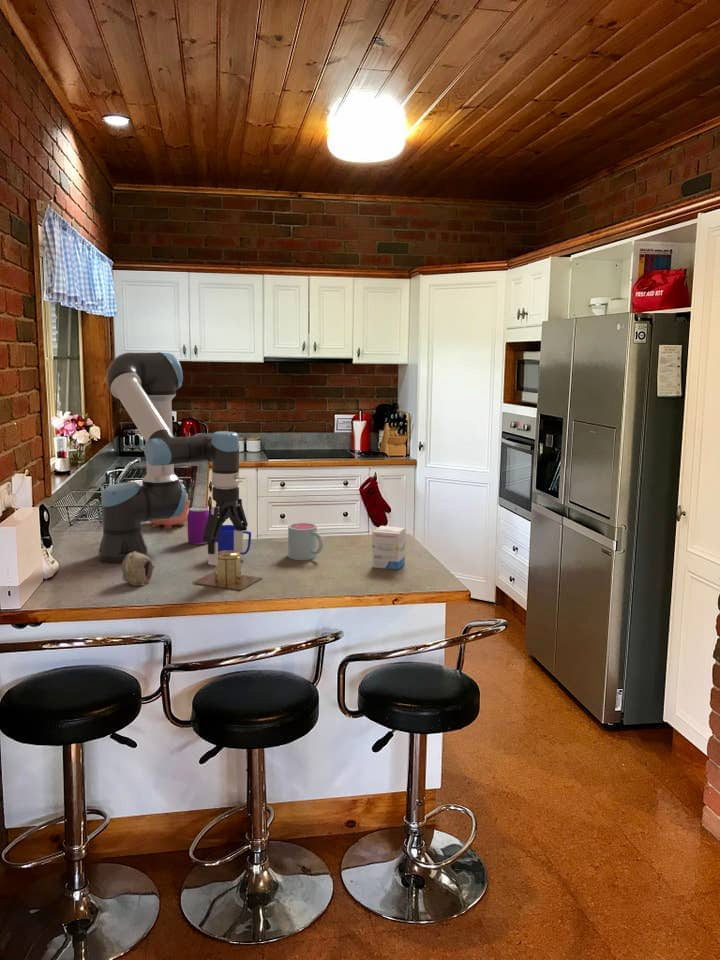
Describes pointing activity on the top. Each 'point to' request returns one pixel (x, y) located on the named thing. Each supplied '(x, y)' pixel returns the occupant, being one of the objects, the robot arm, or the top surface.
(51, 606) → the top surface
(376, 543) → the ink box
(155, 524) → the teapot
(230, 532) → the mug
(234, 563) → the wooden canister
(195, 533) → the beverage can
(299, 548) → the mug
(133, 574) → the beige round pot
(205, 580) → the square plate with knob
